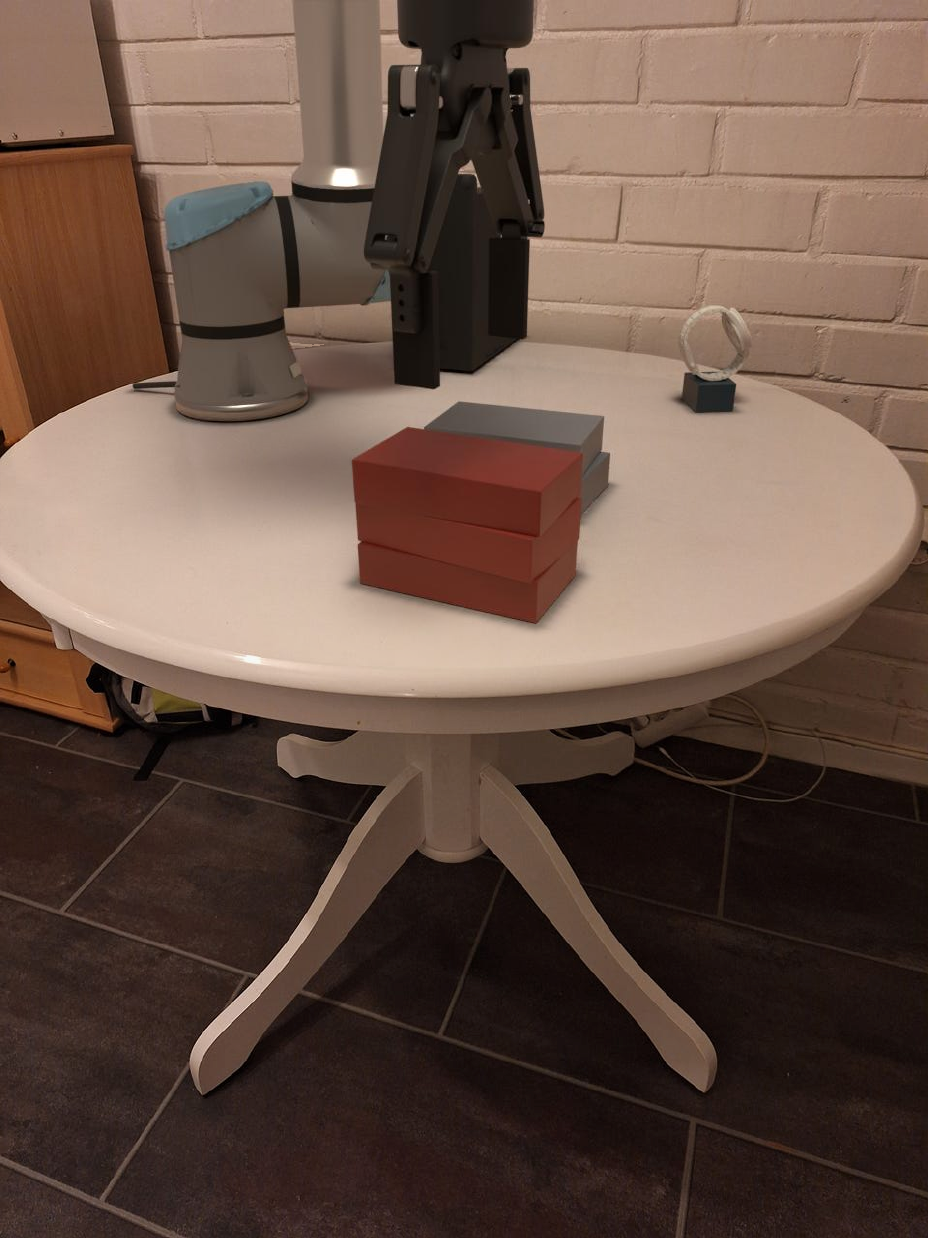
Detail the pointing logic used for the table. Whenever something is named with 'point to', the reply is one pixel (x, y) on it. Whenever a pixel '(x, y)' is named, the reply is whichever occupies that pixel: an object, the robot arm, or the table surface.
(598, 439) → the grey book top
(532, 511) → the red book
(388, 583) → the red stack low
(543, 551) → the red stack top
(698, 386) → the ring sculpture
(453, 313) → the bookend
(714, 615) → the table surface
